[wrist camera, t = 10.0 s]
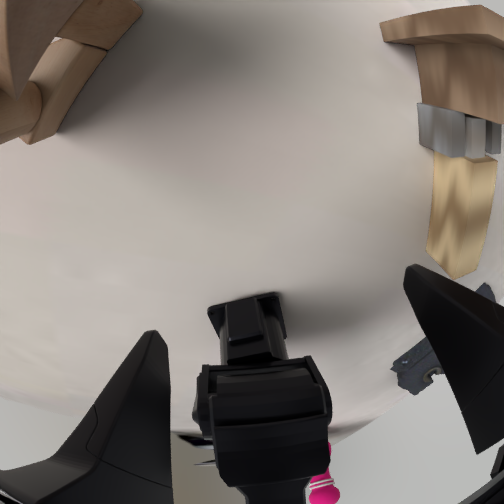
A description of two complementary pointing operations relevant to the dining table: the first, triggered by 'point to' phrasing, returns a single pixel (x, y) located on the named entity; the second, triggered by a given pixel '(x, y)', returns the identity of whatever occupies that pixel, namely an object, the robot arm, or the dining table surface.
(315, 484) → the pepper mill
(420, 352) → the dark slate chunk
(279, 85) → the dining table surface
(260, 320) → the robot arm
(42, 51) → the wooden block
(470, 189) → the tan oblong piece
